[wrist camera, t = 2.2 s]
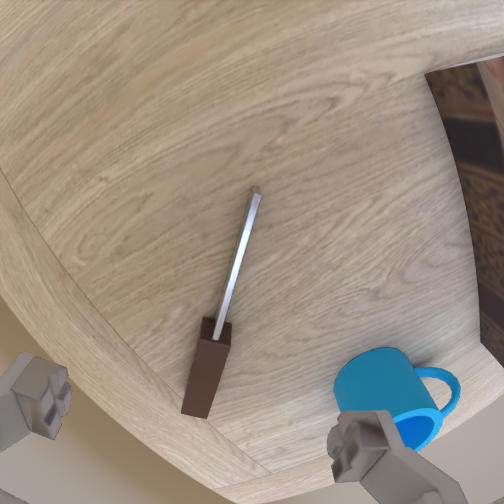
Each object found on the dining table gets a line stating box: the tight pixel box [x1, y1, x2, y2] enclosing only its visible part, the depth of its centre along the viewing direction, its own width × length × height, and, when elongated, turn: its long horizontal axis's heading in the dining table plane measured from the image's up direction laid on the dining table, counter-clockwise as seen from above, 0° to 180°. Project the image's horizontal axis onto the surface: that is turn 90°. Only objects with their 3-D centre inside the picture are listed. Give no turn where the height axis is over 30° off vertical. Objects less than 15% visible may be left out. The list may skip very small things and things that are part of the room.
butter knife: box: [181, 186, 262, 419], centre depth 24 cm, size 2×20×3 cm, turn 164°
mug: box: [334, 348, 461, 452], centre depth 25 cm, size 12×8×8 cm
